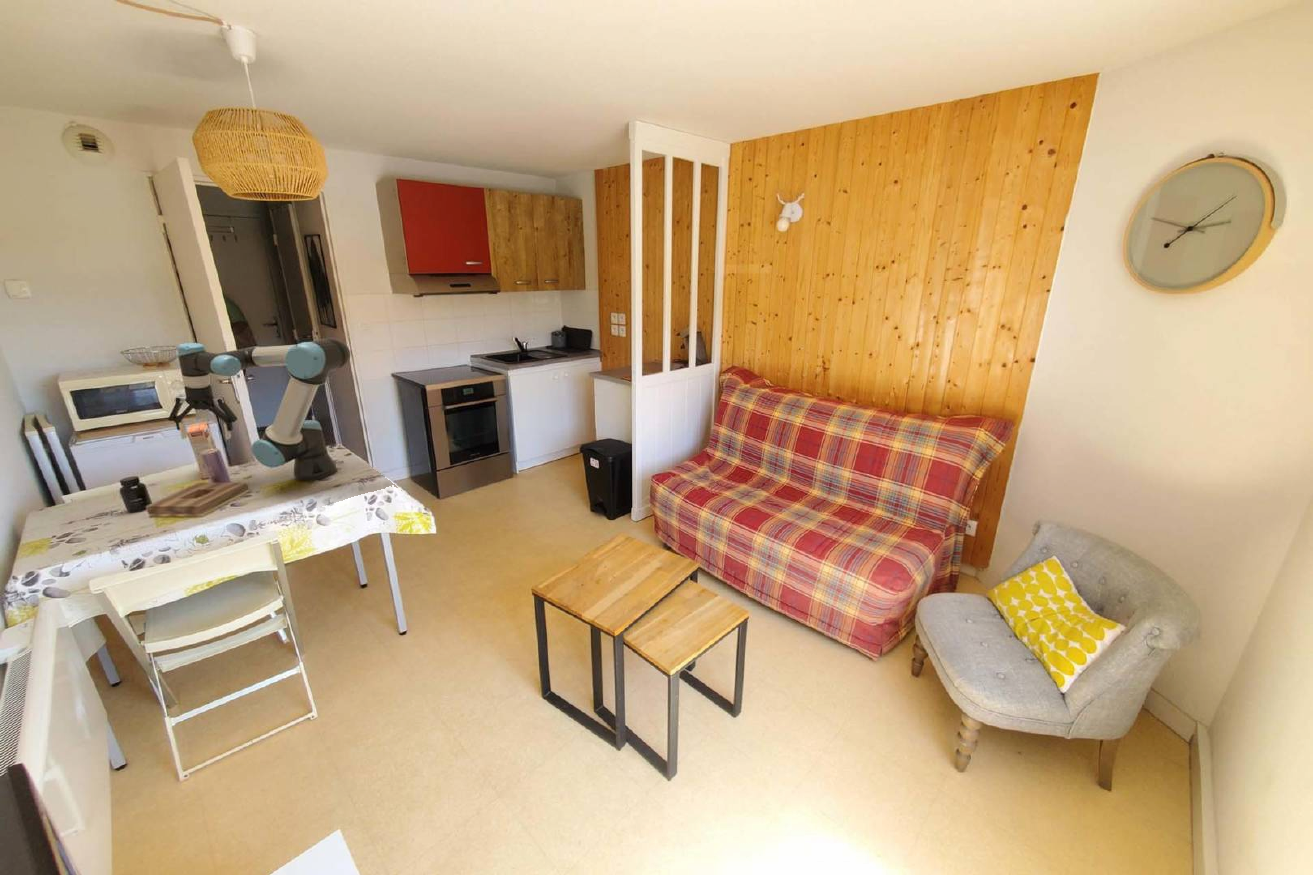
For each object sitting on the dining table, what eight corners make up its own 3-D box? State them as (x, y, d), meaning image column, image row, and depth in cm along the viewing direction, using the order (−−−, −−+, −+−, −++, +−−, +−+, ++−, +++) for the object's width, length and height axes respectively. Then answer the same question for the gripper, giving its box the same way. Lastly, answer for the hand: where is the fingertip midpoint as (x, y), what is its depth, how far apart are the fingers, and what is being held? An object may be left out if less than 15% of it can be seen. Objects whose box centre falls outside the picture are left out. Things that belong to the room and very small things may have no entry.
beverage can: (235, 482, 204) (223, 448, 200) (221, 488, 199) (209, 453, 194) (221, 482, 205) (209, 448, 200) (208, 488, 199) (195, 453, 195)
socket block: (249, 491, 195) (246, 482, 194) (202, 516, 176) (198, 506, 175) (201, 491, 197) (197, 482, 195) (149, 516, 178) (145, 506, 176)
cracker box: (221, 476, 212) (204, 429, 205) (202, 479, 208) (185, 432, 201) (223, 466, 222) (208, 421, 215) (206, 469, 219) (189, 424, 212)
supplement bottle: (137, 513, 180) (124, 483, 176) (122, 512, 182) (109, 482, 178) (158, 504, 187) (146, 475, 183) (144, 503, 188) (131, 474, 184)
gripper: (242, 384, 195) (250, 435, 202) (160, 380, 186) (171, 433, 193) (234, 389, 188) (242, 442, 195) (148, 386, 179) (160, 441, 187)
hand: (207, 438), depth 194 cm, fingers open, 13 cm apart
